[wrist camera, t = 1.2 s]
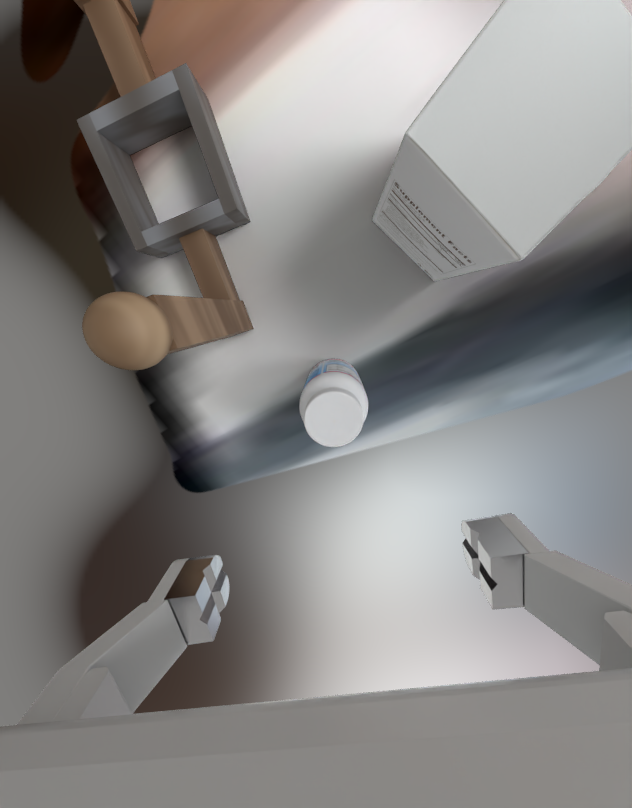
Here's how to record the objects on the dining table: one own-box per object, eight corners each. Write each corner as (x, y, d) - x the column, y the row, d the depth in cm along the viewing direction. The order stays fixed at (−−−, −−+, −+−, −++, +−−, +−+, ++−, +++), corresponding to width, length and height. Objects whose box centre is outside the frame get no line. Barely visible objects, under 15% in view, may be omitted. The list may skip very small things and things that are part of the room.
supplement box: (441, 127, 26) (572, -101, 11) (509, 203, 27) (702, 87, 13) (367, 219, 28) (400, 129, 14) (433, 285, 29) (524, 264, 15)
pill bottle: (321, 417, 35) (314, 467, 24) (298, 371, 33) (279, 401, 22) (369, 397, 33) (385, 440, 23) (348, 348, 32) (354, 368, 21)
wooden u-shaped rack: (155, -54, 23) (-478, -1315, 5) (285, 323, 31) (216, 344, 13) (52, 8, 25) (-711, -796, 7) (201, 351, 33) (40, 404, 15)
